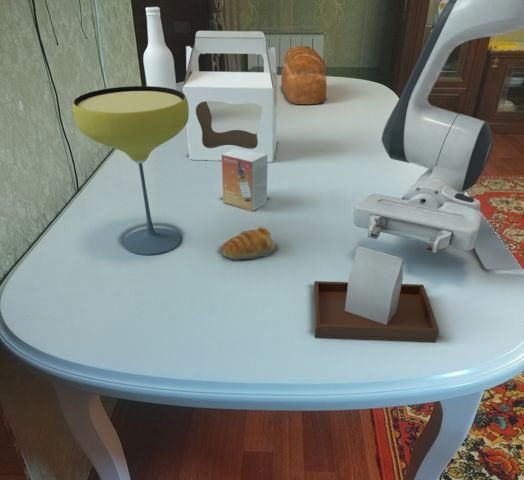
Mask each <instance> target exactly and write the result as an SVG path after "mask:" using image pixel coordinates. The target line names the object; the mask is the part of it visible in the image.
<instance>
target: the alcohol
mask: <svg viewBox="0 0 524 480" xmlns="http://www.w3.org/2000/svg"><path fill="white" fill-rule="evenodd" d="M160 10H161V8H160V7H158V6H148V7H147V6H146V7H145V15H146V27H147V47H146V49H145V50H144V52H143V57H142V59H143V61H142V62H143V68H144V76H145V82H146V84H145V85H146V86H154V87H164V88H170V89H175V90H178V89H177V80H176V69H175V60H174V56H173V53H172V52H171V50H170V48H168V46H167V45H166V42H165V36H164V31H163V24H162V18H161V11H160Z"/></svg>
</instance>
